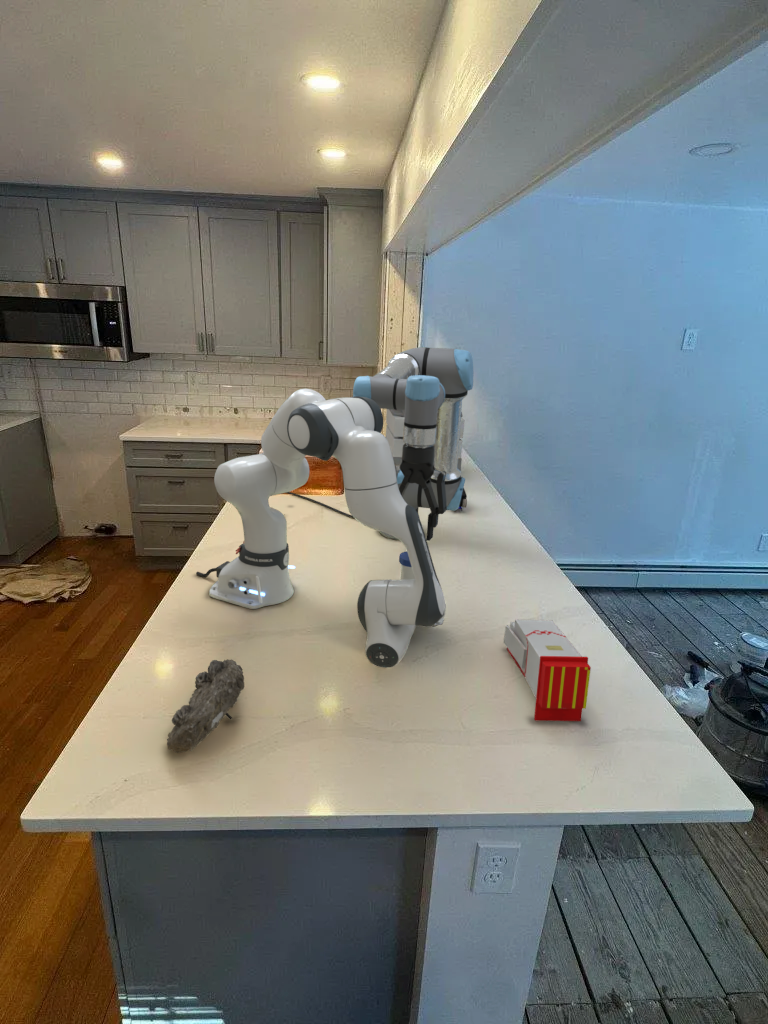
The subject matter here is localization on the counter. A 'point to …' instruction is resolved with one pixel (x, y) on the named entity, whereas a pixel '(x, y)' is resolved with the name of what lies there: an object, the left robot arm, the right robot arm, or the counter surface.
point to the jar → (406, 573)
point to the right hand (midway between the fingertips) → (413, 535)
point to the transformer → (396, 435)
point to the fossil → (206, 705)
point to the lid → (404, 559)
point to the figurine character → (463, 500)
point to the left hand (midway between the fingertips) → (409, 592)
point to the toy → (549, 668)
